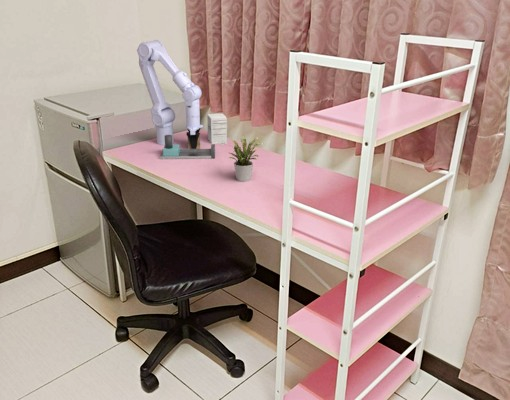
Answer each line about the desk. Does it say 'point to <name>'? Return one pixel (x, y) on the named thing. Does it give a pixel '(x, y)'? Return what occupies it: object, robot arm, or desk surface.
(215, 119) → the supplement box
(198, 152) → the tray
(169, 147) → the ram
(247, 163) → the house plant
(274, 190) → the desk surface
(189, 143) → the wooden block with knob
